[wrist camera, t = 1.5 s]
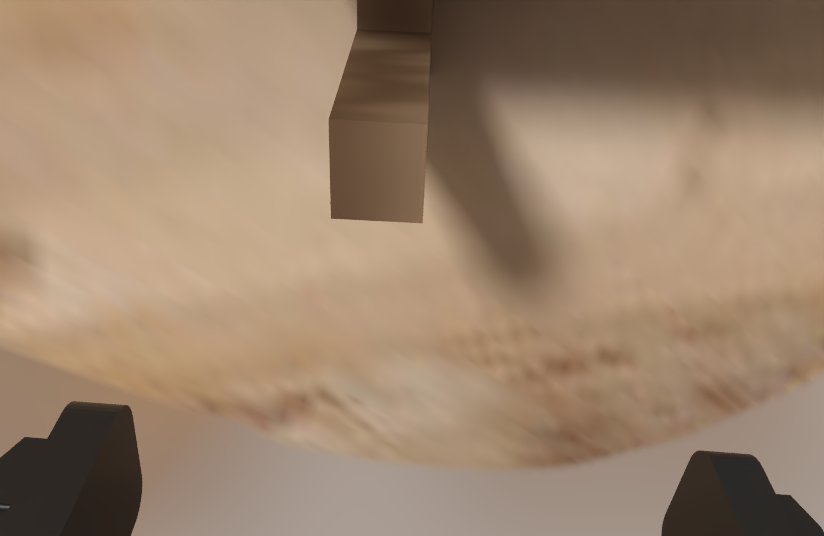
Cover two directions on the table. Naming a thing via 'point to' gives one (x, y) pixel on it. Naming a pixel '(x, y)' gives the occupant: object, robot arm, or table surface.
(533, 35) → the table surface
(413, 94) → the bent wooden plank
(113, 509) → the robot arm
